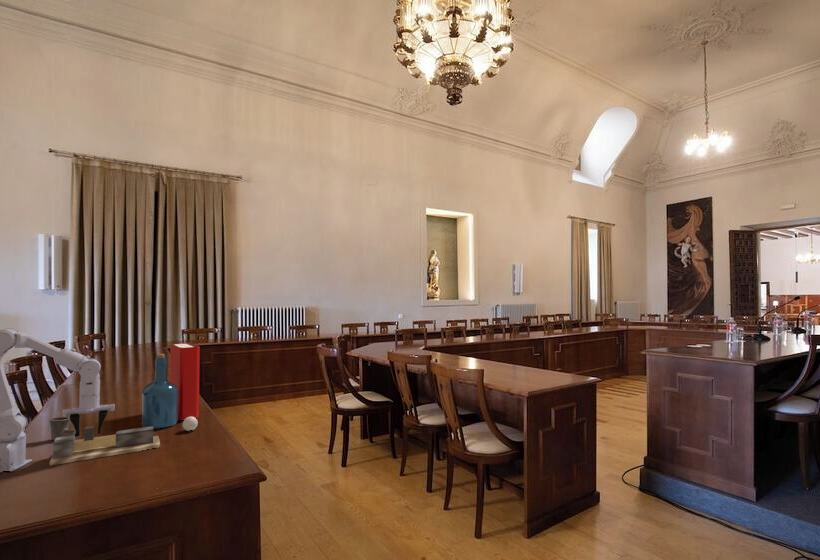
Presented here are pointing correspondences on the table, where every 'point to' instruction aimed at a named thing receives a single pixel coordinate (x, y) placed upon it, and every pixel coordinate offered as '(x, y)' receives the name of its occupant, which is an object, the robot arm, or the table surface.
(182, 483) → the table surface
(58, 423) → the pipe
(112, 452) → the grey blocks on plank
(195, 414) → the book
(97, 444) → the tan flat block
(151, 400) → the wine bottle
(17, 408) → the robot arm
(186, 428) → the white oval ball
